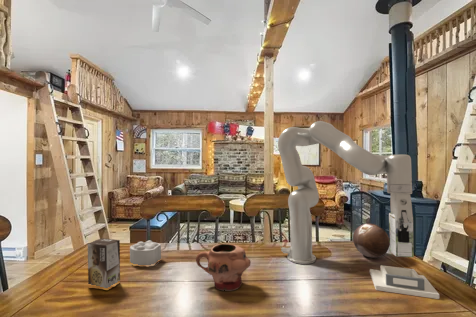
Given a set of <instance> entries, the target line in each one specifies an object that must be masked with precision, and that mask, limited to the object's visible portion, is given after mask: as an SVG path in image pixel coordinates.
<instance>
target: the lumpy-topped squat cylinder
mask: <svg viewBox="0 0 476 317" xmlns="http://www.w3.org/2000/svg"><path fill="white" fill-rule="evenodd" d="M160 259H161V260H162V244H161V243H158V242H155V241H152V240H147V241H145V242H144V241H137V243H134V244H132V245H130V246H129V263H130V262H131V263H133V264H138V265H151V264H154V263H156V262H157V261H158V260H160Z"/></svg>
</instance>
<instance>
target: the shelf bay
mask: <svg viewBox="0 0 476 317" xmlns="http://www.w3.org/2000/svg"><path fill="white" fill-rule="evenodd" d="M369 274H370V277H371V280H372V283H373V287H374V288H375V290H376V291H381V292H387V293H396V294H401V295H408V296H416V297H422V298H428V299H435V300H436V299H437V300H440V293H439V292H438V291H437V290H436V289H435V287H434V286H433V285H432V284H431V282H430V281H429V280H428V278H426V276H425V275H423V274H422V275H421V274H418V272H417V271H416V270H415V269H414V268H406V267H398V266H389V265H382V264H381V265H380V269H372V268H369Z"/></svg>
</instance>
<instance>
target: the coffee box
mask: <svg viewBox="0 0 476 317" xmlns="http://www.w3.org/2000/svg"><path fill="white" fill-rule="evenodd" d="M120 241H121V240H120V239H113V238H111V239H110V238H103V237H102V238H98V239H95V240H93V241H90V242H87V282H88V284H91V285H96V286H100V287H104V288H108V287H110V286H111V285H113V284H115V283H117V282H118V281H120V282H121V251H120V250H121V247H120V246H121V245H120V243H121V242H120ZM88 284H87V285H88Z"/></svg>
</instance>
